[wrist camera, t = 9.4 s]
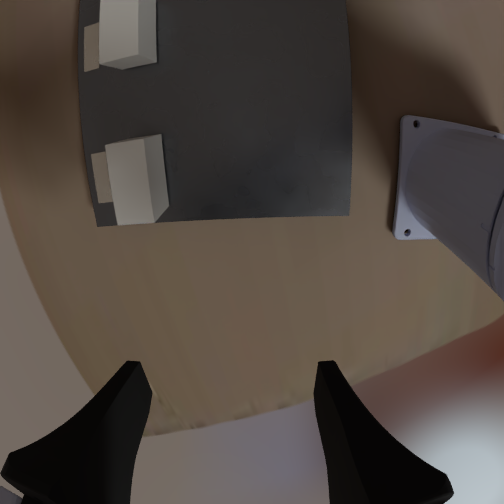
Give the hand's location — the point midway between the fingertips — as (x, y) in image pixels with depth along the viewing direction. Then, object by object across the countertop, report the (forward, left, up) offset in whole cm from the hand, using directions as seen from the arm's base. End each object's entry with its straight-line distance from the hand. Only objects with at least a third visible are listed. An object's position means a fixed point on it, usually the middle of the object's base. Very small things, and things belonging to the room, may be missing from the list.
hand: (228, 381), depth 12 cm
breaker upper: (+4, -7, -8) cm, 11 cm away
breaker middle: (+5, -15, -8) cm, 17 cm away
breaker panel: (+1, -15, -9) cm, 18 cm away
